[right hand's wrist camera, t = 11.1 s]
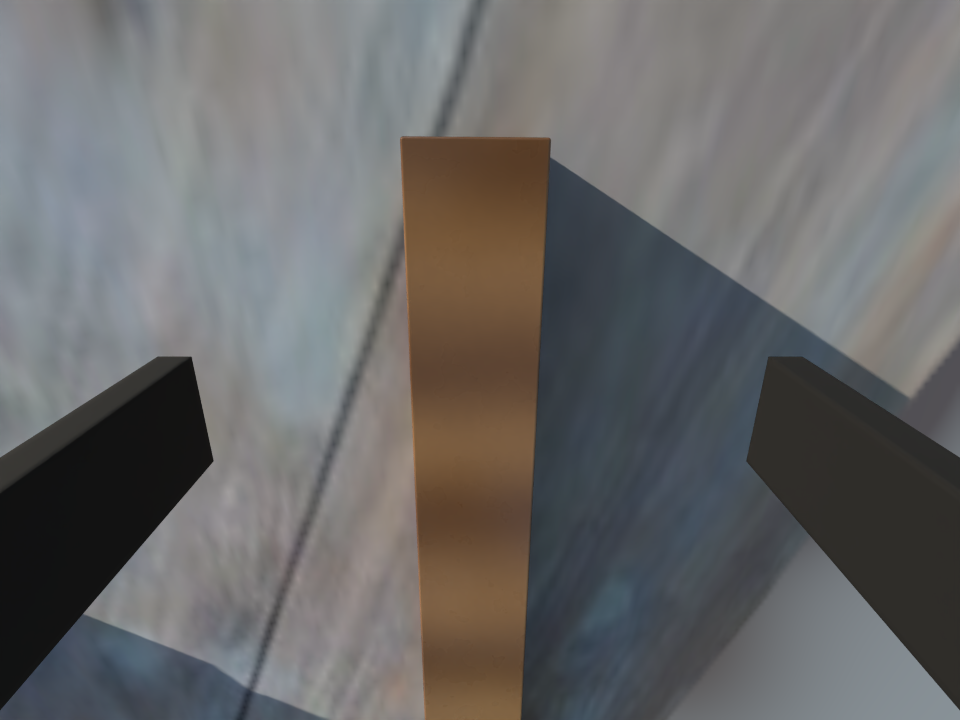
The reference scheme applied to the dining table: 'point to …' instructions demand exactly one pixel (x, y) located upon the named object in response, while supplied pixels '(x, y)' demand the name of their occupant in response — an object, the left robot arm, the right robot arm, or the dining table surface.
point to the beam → (474, 407)
